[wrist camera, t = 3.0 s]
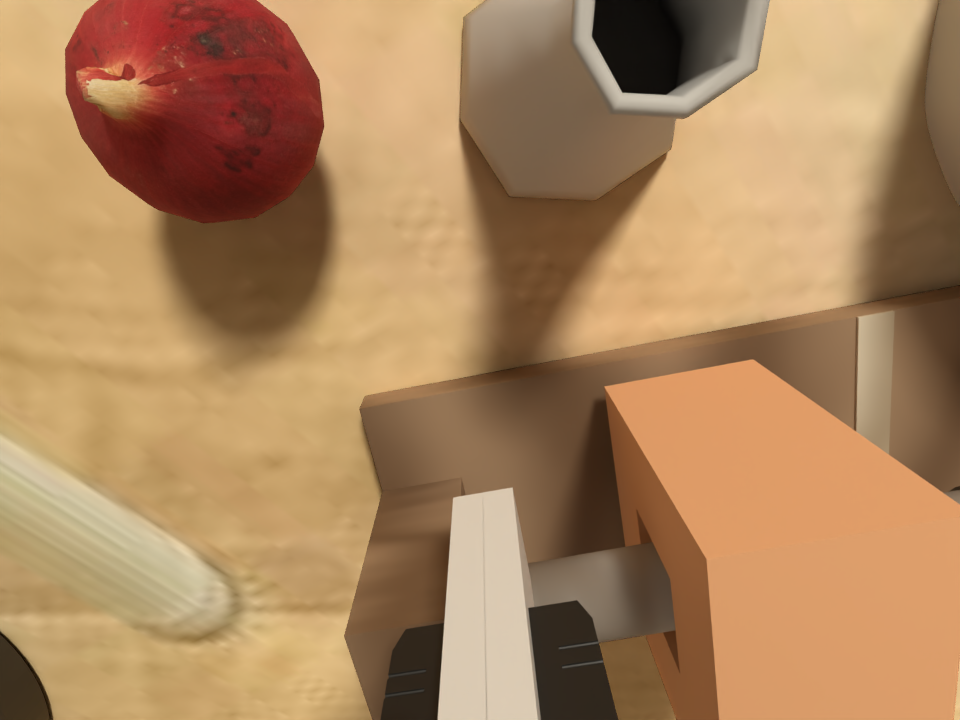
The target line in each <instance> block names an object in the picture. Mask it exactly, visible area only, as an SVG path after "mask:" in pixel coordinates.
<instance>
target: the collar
mask: <svg viewBox="0 0 960 720" xmlns="http://www.w3.org/2000/svg"><path fill="white" fill-rule="evenodd" d="M604 389H605V397H606V404H607V412H608V419H609V427H610V434H611V442H612V450H613V457H614V465H615V472H616V480H617V487H618V495H619V503H620V510H621V518H622V525H623V533H624V540H625V547H627V546H633V545H638V544H644V543H650V542H653V544H654V546H655V548H656V550H657V552H658V555H659V557H660V559H661V561H662V563H663V565H664V567H665V569H666V571H667V573H668V575H669V578H670V582H671V592H672V601H673V611H674V621H675V631H669V632H663V633H657V634H650V635H646V638H647V641H648V643H649V646H650V649H651V651H652V654H653V657H654V660H655V662H656V665H657V668H658V670H659V673H660V676H661V679H662V681H663V684H664V687H665V689H666V692H667V695H668V697H669V700H670V703H671V706H672V708H673V711H674V714H675V716H676V719H677V720H954V712H955V701H956V691H957V681H958V671H959V660H960V504H958V503H957V502H956V501H954V500H953V499H951V498H950V497H948V496H947V495H946V494H944V493H943V492H941V491H940V490H938V489H937V488H936V487H934V486H933V485H931V484H930V483H928V482H927V481H926V480H924V479H923V478H921V477H920V476H919V475H917V474H916V473H914V472H913V471H911V470H910V469H909V468H907V467H906V466H904V465H903V464H901V463H900V462H899V461H897V460H896V459H894V458H893V457H891V456H890V455H889V454H887V453H886V452H884V451H883V450H882V449H880V448H879V447H877V446H876V445H874V444H873V443H872V442H870V441H869V440H867V439H866V438H864V437H863V436H862V435H860V434H859V433H857V432H856V431H854V430H853V429H852V428H850V427H849V426H847V425H846V424H845V423H843V422H842V421H840V420H839V419H837V418H836V417H835V416H833V415H832V414H830V413H829V412H827V411H826V410H825V409H823V408H822V407H820V406H819V405H817V404H816V403H815V402H813V401H812V400H810V399H809V398H808V397H806V396H805V395H803V394H802V393H800V392H799V391H798V390H796V389H795V388H793V387H792V386H790V385H789V384H788V383H786V382H785V381H783V380H782V379H780V378H779V377H778V376H776V375H775V374H773V373H772V372H771V371H769V370H768V369H766V368H765V367H763V366H762V365H761V364H759V363H758V362H756V361H755V360H753V359H752V360H746V361H741V362H736V363H730V364H725V365H719V366H714V367H708V368H703V369H697V370H692V371H686V372H681V373H675V374H670V375H665V376H659V377H654V378H648V379H643V380H637V381H632V382H626V383H621V384H615V385H610V386H605V387H604Z"/></svg>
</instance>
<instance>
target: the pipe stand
mask: <svg viewBox="0 0 960 720" xmlns="http://www.w3.org/2000/svg"><path fill="white" fill-rule="evenodd" d="M752 359H753V360H755V361H756V362H758V363H759V364H761V365H762V366H763V367H765V368H766V369H768V370H769V371H771V372H772V373H773V374H775V375H776V376H778V377H779V378H780V379H782V380H783V381H785V382H786V383H788V384H789V385H790V386H792V387H793V388H795V389H796V390H798V391H799V392H800V393H802V394H803V395H805V396H806V397H808V398H809V399H810V400H812V401H813V402H815V403H816V404H817V405H819V406H820V407H822V408H823V409H825V410H826V411H827V412H829V413H830V414H832V415H833V416H835V417H836V418H837V419H839V420H840V421H842V422H843V423H845V424H846V425H847V426H849V427H850V428H852V429H853V430H854V431H856V432H857V433H859V434H860V435H862V436H863V437H864V438H866V439H867V440H869V441H870V442H872V443H873V444H874V445H876V446H877V447H879V448H880V449H882V450H883V451H884V452H886V453H887V454H889V455H890V456H891V457H893V458H894V459H896V460H897V461H899V462H900V463H901V464H903V465H904V466H906V467H907V468H909V469H910V470H911V471H913V472H914V473H916V474H917V475H919V476H920V477H921V478H923V479H924V480H926V481H927V482H928V483H930V484H931V485H933V486H934V487H936V488H937V489H938V490H940V491H941V492H943V493H944V494H946V495H947V496H948V497H950V498H951V499H953V500H954V501H956V502H957V503H958V504H960V286H954V287H949V288H943V289H938V290H933V291H927V292H922V293H916V294H911V295H906V296H900V297H895V298H890V299H884V300H879V301H873V302H868V303H863V304H857V305H852V306H847V307H841V308H836V309H830V310H825V311H820V312H814V313H809V314H804V315H798V316H793V317H787V318H782V319H777V320H771V321H766V322H761V323H755V324H750V325H744V326H739V327H734V328H728V329H723V330H718V331H712V332H707V333H701V334H696V335H691V336H685V337H680V338H675V339H669V340H664V341H658V342H653V343H648V344H642V345H637V346H632V347H626V348H621V349H615V350H610V351H605V352H599V353H594V354H589V355H583V356H578V357H572V358H567V359H562V360H556V361H551V362H545V363H540V364H535V365H529V366H524V367H519V368H513V369H508V370H502V371H497V372H492V373H486V374H481V375H476V376H470V377H465V378H459V379H454V380H449V381H443V382H438V383H433V384H427V385H422V386H416V387H411V388H406V389H400V390H395V391H390V392H384V393H379V394H373V395H368V396H365V397H364V400H363V402H362V404H361V406H360V409H359V410H360V413H361V417H362V420H363V424H364V427H365V431H366V435H367V438H368V442H369V445H370V449H371V452H372V456H373V459H374V463H375V466H376V470H377V473H378V477H379V480H380V484H381V488H382V491H383V492H382V495H381V499H380V503H379V507H378V510H377V514H376V518H375V522H374V526H373V529H372V533H371V537H370V541H369V544H368V548H367V552H366V556H365V560H364V563H363V567H362V571H361V575H360V579H359V582H358V586H357V590H356V594H355V597H354V601H353V605H352V609H351V613H350V616H349V620H348V624H347V628H346V631H345V635H344V637H345V640H346V643H347V646H348V649H349V652H350V655H351V658H352V661H353V663H354V666H355V669H356V672H357V675H358V678H359V681H360V684H361V687H362V690H363V693H364V696H365V699H366V702H367V705H368V708H369V711H370V714H371V717H372V720H380V719H381V713H382V707H383V702H384V699H385V690H386V684H387V679H388V678H389V676H388V673H389V667H390V661H391V655H392V650H393V649H394V647H395V646H396V644H397V642H398V641H399V639H400V637H401V636H402V634H403V633H404V631H405V629H409V628H415V627H421V626H428V625H434V624H440V623H444V621H445V607H446V592H447V578H448V564H449V550H450V536H451V522H452V507H453V497H459V496H465V495H471V494H477V493H483V492H489V491H495V490H500V489H506V488H512V487H513V492H514V497H515V502H516V507H517V512H518V517H519V522H520V527H521V532H522V537H523V542H524V547H525V553H526V558H527V563H528V568H529V573H530V578H531V586H532V594H533V601H534V607H537V606H543V605H550V604H556V603H562V602H569V601H575V600H578V602H579V603H580V604H581V605H582V606H583V607H584V609H585V610H586V611H587V612H588V613H589V614H590V616H591V617H592V618H593V622H594V626H595V630H596V634H597V638H598V643H601V642H607V641H614V640H620V639H626V638H632V637H638V636H644V635H650V634H657V633H663V632H669V631H675V621H674V611H673V601H672V592H671V582H670V578H669V575H668V573H667V571H666V569H665V567H664V565H663V563H662V561H661V559H660V557H659V555H658V552H657V550H656V548H655V546H654V544H653V542H650V543H644V544H638V545H633V546H627V547H625V540H624V533H623V525H622V518H621V510H620V503H619V495H618V487H617V480H616V472H615V465H614V457H613V450H612V442H611V434H610V427H609V419H608V412H607V404H606V397H605V389H604V387H605V386H610V385H615V384H621V383H626V382H632V381H637V380H643V379H648V378H654V377H659V376H665V375H670V374H675V373H681V372H686V371H692V370H697V369H703V368H708V367H714V366H719V365H725V364H730V363H736V362H741V361H746V360H752Z"/></svg>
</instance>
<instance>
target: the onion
mask: <svg viewBox="0 0 960 720" xmlns="http://www.w3.org/2000/svg"><path fill="white" fill-rule="evenodd" d="M65 69H66V95H67V98H68V101H69V104H70V106H71V109H72V112H73V115H74V118H75V121H76V123H77V126H78V129H79V132H80V135H81V137H82V139H83V140H84V141H85V143H86V144H87V145H88V147H89V148H90V150H91V151H92V152H93V154H94V155H95V156H96V158H97V159H98V161H99V162H100V163H101V165H102V166H103V167H104V169H105V170H106V172H107V173H108V174H109V176H111V177H112V178H113V179H115V180H116V181H117V182H119V183H120V184H122V185H123V186H124V187H126V188H127V189H128V190H130V191H131V192H133V193H134V194H135V195H137V196H138V197H139V198H141V199H142V200H144V201H145V202H146V203H148V204H149V205H151V206H153V207H154V208H156V209H158V210H160V211H164V212H167V213H171V214H174V215H177V216H181V217H184V218H188V219H191V220H194V221H198V222H201V223H215V222H223V221H231V220H240V219H248V218H255V217H257V216H259V215H260V214H262V213H263V212H265V211H267V210H268V209H270V208H272V207H273V206H275V205H277V204H278V203H280V202H281V201H283V200H285V199H286V198H287V197H289V196H290V195H291V194H292V193H293V192H294V190H295V189H296V188H297V187H298V185H299V184H300V183H301V181H302V180H303V179H304V178H305V176H306V175H307V174H308V172H309V171H310V170H311V169H312V167H313V166H314V162H315V159H316V155H317V151H318V147H319V144H320V140H321V136H322V133H323V129H324V120H323V111H322V101H321V92H320V83H319V79H318V77H317V75H316V73H315V72H314V70H313V68H312V66H311V64H310V63H309V61H308V59H307V57H306V56H305V54H304V52H303V50H302V48H301V47H300V45H299V43H298V41H297V40H296V38H295V36H294V34H293V33H292V31H291V30H290V28H289V27H288V25H287V24H286V23H285V22H284V21H282V20H281V19H280V18H279V17H277V16H276V15H275V14H273V13H272V12H271V11H270V10H268V9H267V8H266V7H264V6H263V5H262V4H261V3H259V2H258V1H257V0H98V1H97V2H96V3H95V4H94V5H92V6H91V7H90V8H89V9H88V10H87V11H85V12H84V14H83V16H82V18H81V20H80V22H79V24H78V26H77V28H76V30H75V32H74V34H73V35H72V37H71V39H70V41H69V43H68V45H67V47H66V49H65Z"/></svg>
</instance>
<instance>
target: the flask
mask: <svg viewBox="0 0 960 720" xmlns="http://www.w3.org/2000/svg"><path fill="white" fill-rule="evenodd" d="M769 1H770V0H485V1H484V2H483V3H481V4H480V5H479V6H477V7H476V8H475V9H474V10H472V11H471V12H470V13H468V14H467V15H466V16H465V17H463V47H462V78H461V108H460V120H461V122H462V123H463V125H464V126H465V128H466V129H467V131H468V133H469V134H470V136H471V137H472V139H473V140H474V142H475V143H476V145H477V147H478V148H479V150H480V151H481V153H482V154H483V156H484V158H485V159H486V161H487V162H488V164H489V165H490V167H491V169H492V170H493V172H494V173H495V175H496V176H497V178H498V179H499V181H500V183H501V184H502V186H503V187H504V189H505V190H506V192H507V194H508V195H509V197H529V198H550V199H571V200H592V201H595V200H597V199H598V198H600V197H601V196H603V195H604V194H606V193H607V192H609V191H610V190H612V189H613V188H615V187H616V186H618V185H619V184H621V183H622V182H624V181H625V180H626V179H628V178H629V177H631V176H632V175H634V174H635V173H637V172H638V171H640V170H641V169H643V168H644V167H646V166H647V165H649V164H650V163H652V162H653V161H655V160H656V159H658V158H659V157H660V156H662V155H663V154H665V153H666V152H668V151H669V150H671V147H672V142H673V135H674V128H675V121H676V119H684V118H687V117H689V116H690V115H692V114H693V113H695V112H696V111H697V110H699V109H700V108H702V107H703V106H705V105H706V104H708V103H709V102H711V101H712V100H714V99H715V98H716V97H718V96H719V95H721V94H722V93H724V92H725V91H727V90H728V89H730V88H731V87H733V86H734V85H735V84H737V83H738V82H740V81H741V80H743V79H744V78H746V77H747V76H749V75H750V74H752V73H753V72H754V71H756V70H757V67H758V62H759V56H760V51H761V45H762V40H763V34H764V29H765V23H766V18H767V12H768V6H769Z"/></svg>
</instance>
